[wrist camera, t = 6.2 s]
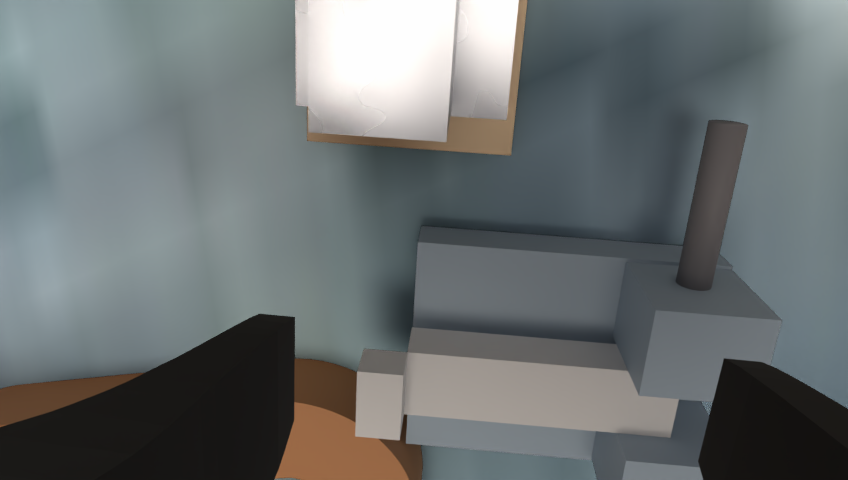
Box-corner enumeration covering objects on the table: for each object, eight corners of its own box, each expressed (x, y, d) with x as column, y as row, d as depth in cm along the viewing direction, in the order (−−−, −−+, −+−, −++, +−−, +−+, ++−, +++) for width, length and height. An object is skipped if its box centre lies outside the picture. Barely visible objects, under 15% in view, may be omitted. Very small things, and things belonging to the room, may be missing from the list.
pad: (533, -70, 18) (534, -71, 17) (509, 152, 20) (510, 155, 19) (310, -83, 18) (306, -85, 17) (310, 138, 20) (307, 141, 19)
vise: (745, 110, 19) (830, 142, 14) (671, 439, 22) (721, 545, 18) (388, 85, 19) (364, 109, 15) (375, 413, 23) (352, 511, 18)
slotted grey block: (501, 104, 19) (520, 161, 12) (319, 91, 19) (235, 140, 12) (512, -9, 18) (540, -18, 11) (320, -21, 18) (228, -37, 11)
